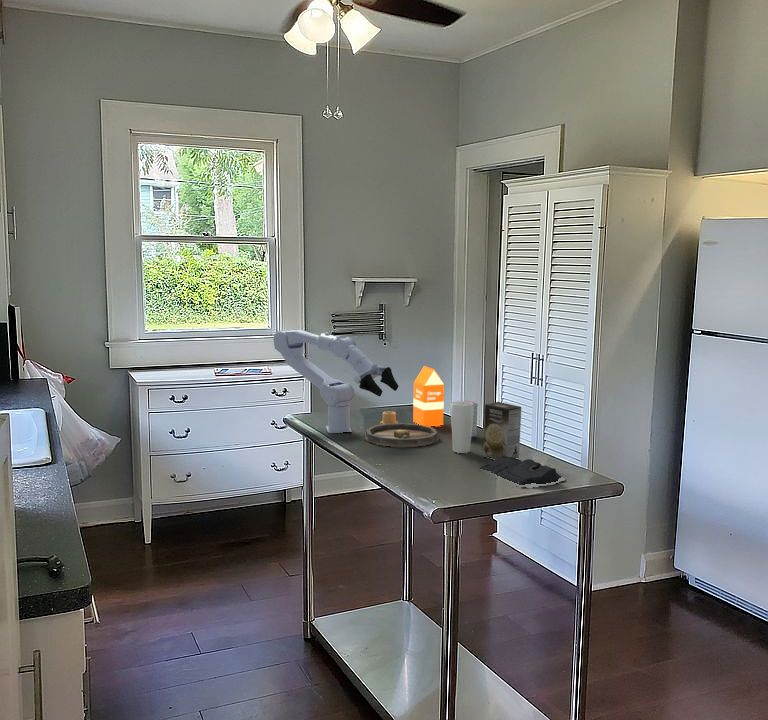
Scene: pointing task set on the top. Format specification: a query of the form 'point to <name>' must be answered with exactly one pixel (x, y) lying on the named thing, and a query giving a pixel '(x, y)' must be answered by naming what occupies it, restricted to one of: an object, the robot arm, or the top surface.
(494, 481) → the top surface
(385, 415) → the planet gear
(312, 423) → the top surface
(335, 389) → the robot arm
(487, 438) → the coffee box
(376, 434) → the wooden tray
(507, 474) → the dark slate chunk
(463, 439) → the drinking glass
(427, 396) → the orange juice
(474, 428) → the supplement box
